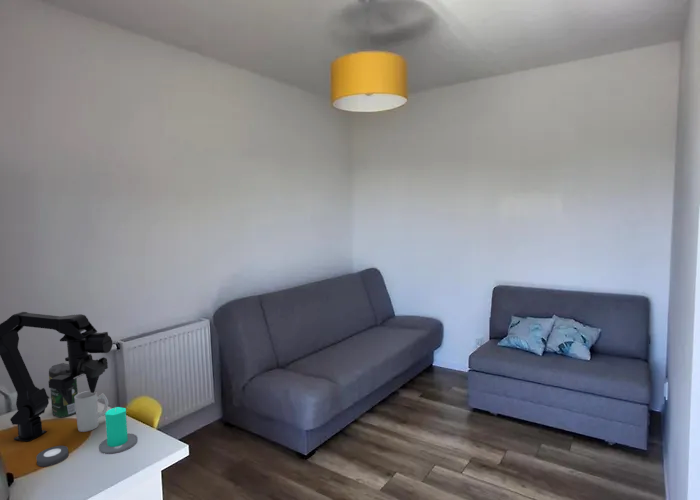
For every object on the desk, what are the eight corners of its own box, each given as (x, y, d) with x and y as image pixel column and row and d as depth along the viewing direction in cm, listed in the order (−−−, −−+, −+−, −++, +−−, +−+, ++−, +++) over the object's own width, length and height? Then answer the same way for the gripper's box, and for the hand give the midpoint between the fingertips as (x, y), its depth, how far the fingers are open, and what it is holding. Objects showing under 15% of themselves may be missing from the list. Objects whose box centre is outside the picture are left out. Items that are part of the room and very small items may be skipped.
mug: (78, 434, 147) (75, 400, 146) (75, 427, 152) (73, 394, 151) (111, 425, 153) (109, 392, 152) (107, 418, 159) (105, 386, 157)
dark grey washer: (30, 465, 129) (29, 458, 129) (53, 450, 137) (53, 444, 137) (52, 467, 128) (51, 461, 128) (74, 453, 136) (74, 446, 135)
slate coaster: (90, 451, 136) (90, 449, 136) (116, 434, 147) (116, 431, 147) (120, 455, 134) (120, 453, 134) (144, 437, 144) (144, 435, 144)
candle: (117, 448, 136) (115, 411, 135) (102, 445, 138) (100, 409, 137) (132, 438, 142) (129, 403, 141) (117, 436, 144) (115, 401, 143)
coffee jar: (48, 413, 163) (44, 365, 162) (71, 405, 170) (68, 359, 168) (59, 420, 158) (55, 370, 156) (83, 411, 164) (79, 364, 162)
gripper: (74, 364, 133) (78, 412, 135) (119, 345, 151) (122, 388, 153) (45, 362, 136) (49, 410, 137) (92, 344, 154) (95, 386, 155)
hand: (81, 398), depth 145 cm, fingers open, 9 cm apart
